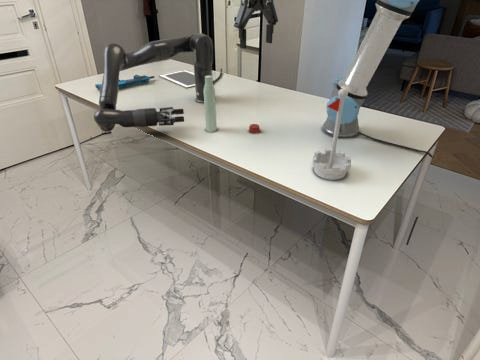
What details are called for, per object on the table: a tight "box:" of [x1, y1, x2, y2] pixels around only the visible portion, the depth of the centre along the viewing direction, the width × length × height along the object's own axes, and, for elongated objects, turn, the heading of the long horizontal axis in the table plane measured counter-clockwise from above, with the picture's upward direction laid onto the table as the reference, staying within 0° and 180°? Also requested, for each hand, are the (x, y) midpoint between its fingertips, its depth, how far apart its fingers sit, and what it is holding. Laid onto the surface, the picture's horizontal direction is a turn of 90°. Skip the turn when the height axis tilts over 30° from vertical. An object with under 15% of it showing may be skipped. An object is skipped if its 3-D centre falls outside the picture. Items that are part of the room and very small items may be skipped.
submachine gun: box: [94, 74, 155, 92], centre depth 206 cm, size 34×4×25 cm
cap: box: [249, 123, 260, 134], centre depth 149 cm, size 4×4×2 cm
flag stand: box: [312, 88, 352, 181], centre depth 113 cm, size 13×13×30 cm
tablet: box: [159, 69, 215, 89], centre depth 215 cm, size 32×20×1 cm, turn 41°
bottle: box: [203, 75, 218, 133], centre depth 145 cm, size 5×5×24 cm
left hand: (183, 115), depth 145 cm, fingers open, 8 cm apart
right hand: (256, 45), depth 130 cm, fingers open, 13 cm apart
